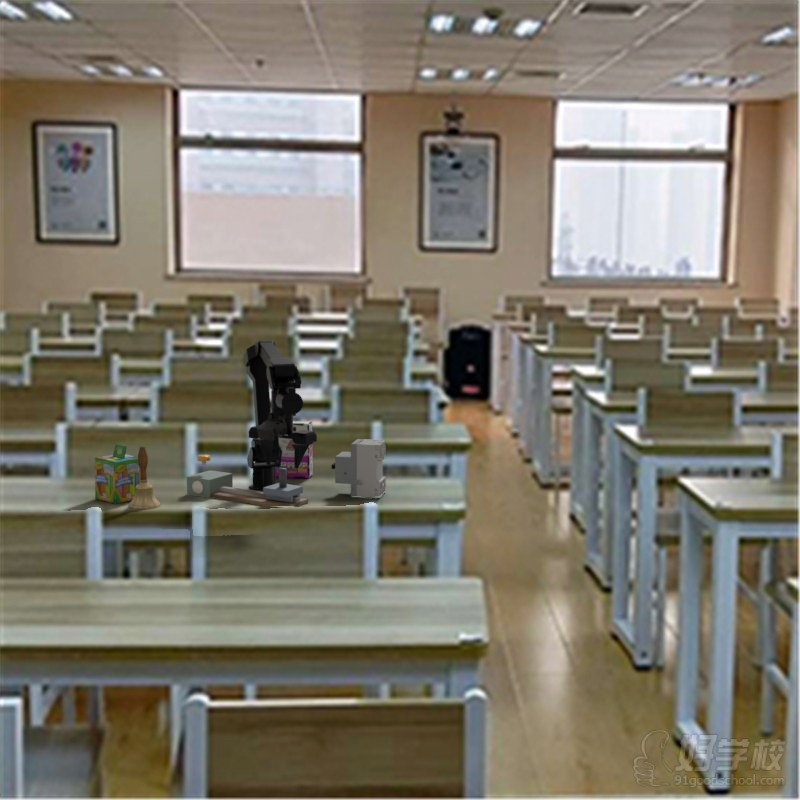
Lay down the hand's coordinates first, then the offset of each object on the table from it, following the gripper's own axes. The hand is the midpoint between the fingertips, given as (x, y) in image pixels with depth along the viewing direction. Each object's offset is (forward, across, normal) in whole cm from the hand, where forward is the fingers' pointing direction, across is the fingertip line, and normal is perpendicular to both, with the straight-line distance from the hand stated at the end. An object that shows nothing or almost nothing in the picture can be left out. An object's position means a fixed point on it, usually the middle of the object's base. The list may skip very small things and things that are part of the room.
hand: (282, 466), depth 312 cm
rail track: (+10, -8, 0) cm, 13 cm away
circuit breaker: (+10, +11, +20) cm, 25 cm away
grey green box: (+10, -25, 0) cm, 27 cm away
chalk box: (+11, -41, -19) cm, 46 cm away
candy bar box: (+11, -18, +30) cm, 36 cm away
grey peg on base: (+9, 0, 0) cm, 9 cm away
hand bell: (+10, -30, -21) cm, 38 cm away
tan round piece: (+2, -27, 0) cm, 27 cm away
